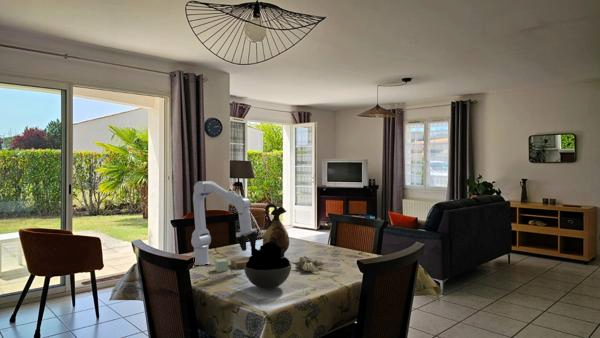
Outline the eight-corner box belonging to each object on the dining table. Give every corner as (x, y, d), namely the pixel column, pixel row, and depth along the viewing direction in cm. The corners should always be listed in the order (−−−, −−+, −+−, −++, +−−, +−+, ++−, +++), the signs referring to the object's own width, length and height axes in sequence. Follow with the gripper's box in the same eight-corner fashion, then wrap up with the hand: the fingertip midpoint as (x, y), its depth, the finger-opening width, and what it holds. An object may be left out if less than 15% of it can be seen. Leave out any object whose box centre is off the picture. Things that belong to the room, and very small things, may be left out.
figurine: (323, 255, 211) (334, 262, 194) (322, 266, 211) (334, 275, 194) (286, 255, 205) (294, 263, 189) (285, 267, 205) (293, 276, 189)
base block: (230, 264, 213) (230, 258, 213) (250, 262, 217) (250, 256, 217) (236, 269, 203) (236, 263, 203) (257, 266, 208) (257, 260, 208)
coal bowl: (291, 280, 181) (291, 239, 181) (291, 295, 161) (291, 248, 161) (246, 281, 181) (246, 239, 181) (241, 296, 161) (241, 249, 161)
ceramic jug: (291, 252, 240) (290, 202, 239) (287, 258, 224) (287, 205, 224) (262, 252, 241) (262, 202, 241) (257, 258, 226) (257, 204, 226)
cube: (215, 269, 202) (215, 260, 202) (225, 268, 204) (224, 258, 204) (217, 272, 198) (217, 262, 198) (227, 271, 200) (227, 260, 200)
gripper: (242, 223, 193) (246, 251, 193) (260, 219, 206) (263, 245, 205) (231, 224, 197) (234, 252, 196) (249, 220, 209) (252, 246, 209)
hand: (248, 249), depth 201 cm, fingers open, 7 cm apart
